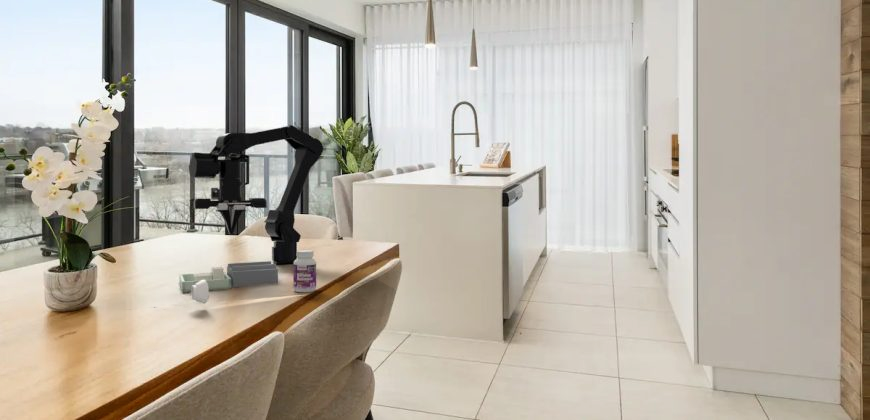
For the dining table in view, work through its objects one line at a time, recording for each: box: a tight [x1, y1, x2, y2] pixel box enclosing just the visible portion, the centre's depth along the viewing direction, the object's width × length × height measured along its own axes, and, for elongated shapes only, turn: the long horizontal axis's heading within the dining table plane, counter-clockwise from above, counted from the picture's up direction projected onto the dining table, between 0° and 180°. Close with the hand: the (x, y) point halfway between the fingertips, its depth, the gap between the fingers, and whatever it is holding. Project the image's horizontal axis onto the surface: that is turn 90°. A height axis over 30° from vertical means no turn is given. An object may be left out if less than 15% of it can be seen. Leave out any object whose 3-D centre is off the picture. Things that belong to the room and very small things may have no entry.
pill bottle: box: [292, 249, 317, 293], centre depth 135 cm, size 5×5×10 cm
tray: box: [179, 271, 232, 293], centre depth 142 cm, size 11×14×2 cm
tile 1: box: [192, 272, 212, 281], centre depth 141 cm, size 4×4×2 cm
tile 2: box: [210, 266, 225, 280], centre depth 143 cm, size 4×4×2 cm
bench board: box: [226, 260, 279, 288], centre depth 147 cm, size 11×12×5 cm
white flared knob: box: [190, 280, 210, 304], centre depth 120 cm, size 5×3×5 cm, turn 33°
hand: (231, 234), depth 157 cm, fingers closed
